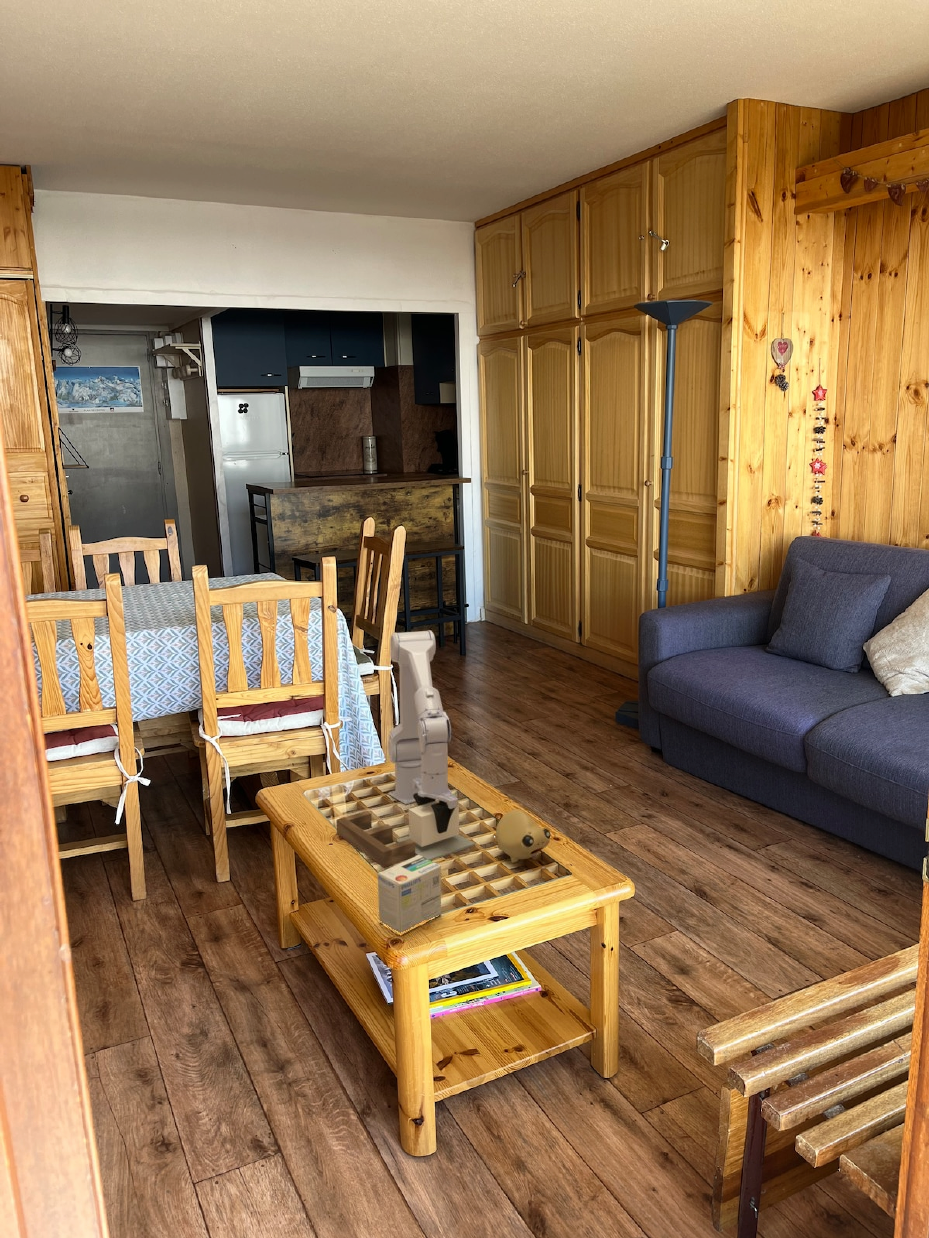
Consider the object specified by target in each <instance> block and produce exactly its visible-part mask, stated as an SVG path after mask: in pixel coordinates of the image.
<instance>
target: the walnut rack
mask: <svg viewBox="0 0 929 1238" xmlns="http://www.w3.org/2000/svg"><path fill="white" fill-rule="evenodd" d="M372 825H373V823H372V813H371V812H370V811H368V810H364V811H360V812H357V813H353V814H351V815H347V816H343V817H340V818H337V819H336V835H338V836H339V835H340V837H341V838H342V839H343V838H344V839H343V840H345V841H346V842H347V843H349V844H350V845H352V846H353V847H355V848H356V849H357V850H359V851H360V852H362V853H363V854H364V855H365V856H367V857H369V858H370V859H371V860H373V861H374V862H375V863H377V864H378V865H380V866H381V867H382V868H387V867H390V866H393V865H397V864H400V863H402V862H404V861H406V860H408V859H410V858H412V857H415V856H416V855H415V842H414V841H413V840H411V839H407V840H404V841H401V842H398V843H397V842H395V843H393V841H394V837H393V826H391V825H390V824H388V823H386V824H384V825H383V824H382V825H381V826H377V827H374V828H372ZM390 843H392V844H390ZM387 844H390V845H387Z"/></svg>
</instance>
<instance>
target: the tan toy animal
mask: <svg viewBox="0 0 929 1238" xmlns="http://www.w3.org/2000/svg"><path fill="white" fill-rule="evenodd" d="M495 836H496V840H497V841H496V842H497V843H498V845H497V848H498V849H499V850H500V851H501V850H502V852H504V853H505V854H506V855H507V856H509V857H510V861H511V863H513V862H516V861H517V862H518V861H519V860H528V859H531V858H533V856H534V855H535V854H536V855H537V854H538V853H539V852H540V851H542V850H544V849H545V848H547V846H548V845H549V844H550V840H551V832H550V830H549V829H548V828H542V827H541V826H540V825H539V824H538V823H537V822H536V821H535V820H534V819H533V818H532V817H531V816H530V815H529V814H528V813H526V812H525V811H524V810H522V809H519V808H518V809H517V808H516V809H512V810H510V811H508V812H506V813H505V814H504V815H503V816H502V817H501V819H500V820H499V821H498V823H497V825H496V830H495ZM536 855H535V856H536ZM535 856H534V857H535ZM517 862H516V863H517Z"/></svg>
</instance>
